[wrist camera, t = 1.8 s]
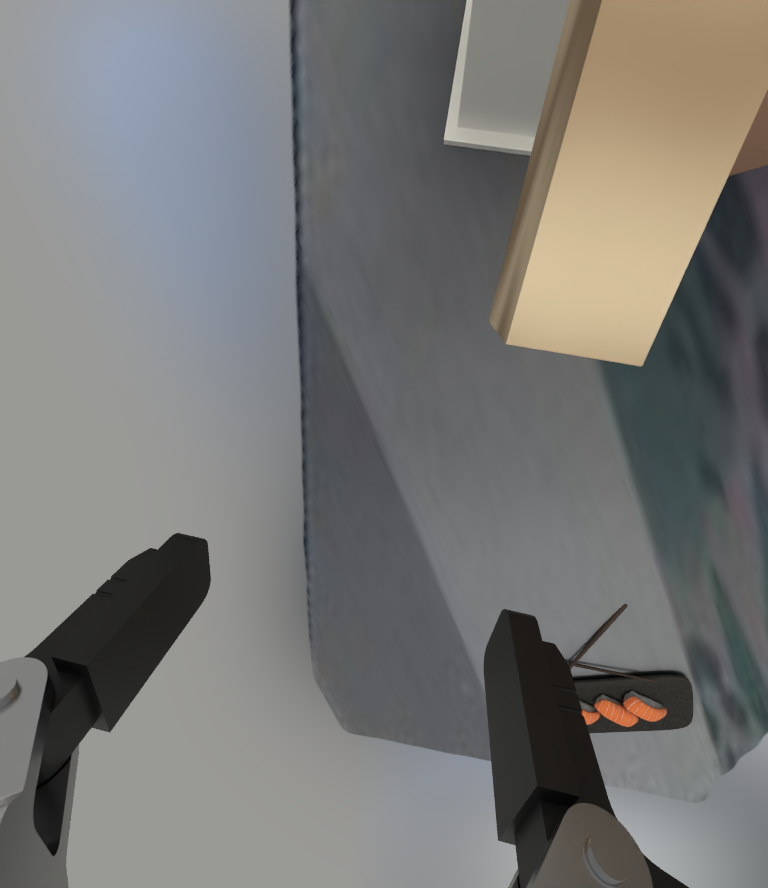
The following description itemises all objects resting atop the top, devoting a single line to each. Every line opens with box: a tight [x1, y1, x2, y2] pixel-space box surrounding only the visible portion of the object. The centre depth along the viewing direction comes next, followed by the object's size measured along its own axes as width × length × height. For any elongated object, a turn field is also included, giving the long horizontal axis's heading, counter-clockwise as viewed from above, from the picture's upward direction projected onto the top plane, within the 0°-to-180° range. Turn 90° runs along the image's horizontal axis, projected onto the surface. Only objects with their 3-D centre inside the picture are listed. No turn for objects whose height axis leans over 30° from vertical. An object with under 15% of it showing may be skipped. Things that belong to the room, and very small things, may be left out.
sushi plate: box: [566, 604, 693, 733], centre depth 62 cm, size 29×30×4 cm
